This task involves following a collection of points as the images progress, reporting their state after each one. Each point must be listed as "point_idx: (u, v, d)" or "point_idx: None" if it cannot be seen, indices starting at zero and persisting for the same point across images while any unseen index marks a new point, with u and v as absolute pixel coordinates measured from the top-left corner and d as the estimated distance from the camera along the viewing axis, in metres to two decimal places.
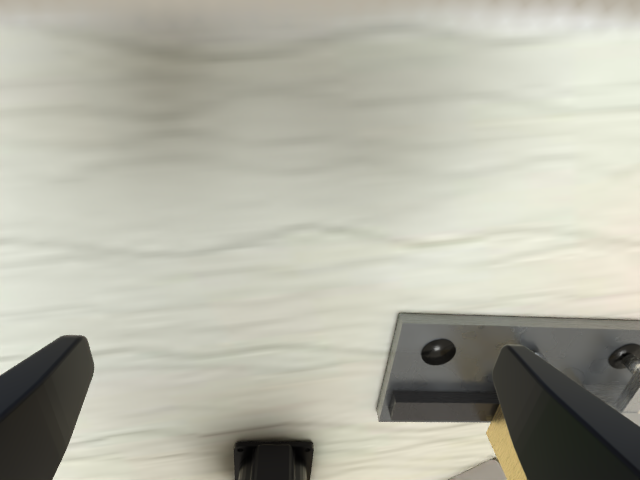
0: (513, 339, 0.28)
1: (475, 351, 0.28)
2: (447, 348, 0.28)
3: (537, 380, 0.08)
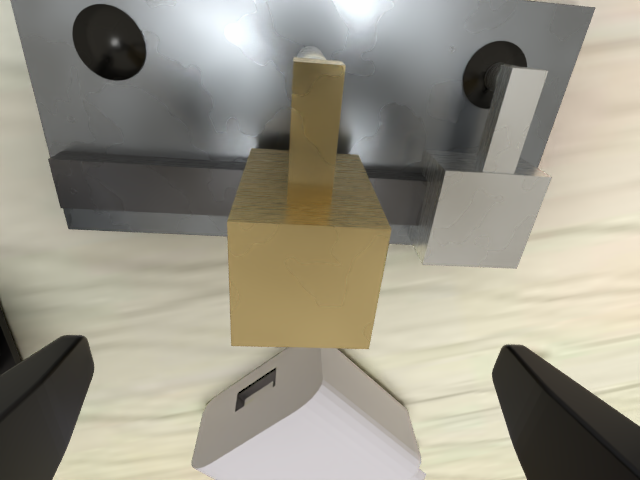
0: (255, 13, 0.14)
1: (187, 45, 0.14)
2: (125, 33, 0.14)
3: (537, 380, 0.08)
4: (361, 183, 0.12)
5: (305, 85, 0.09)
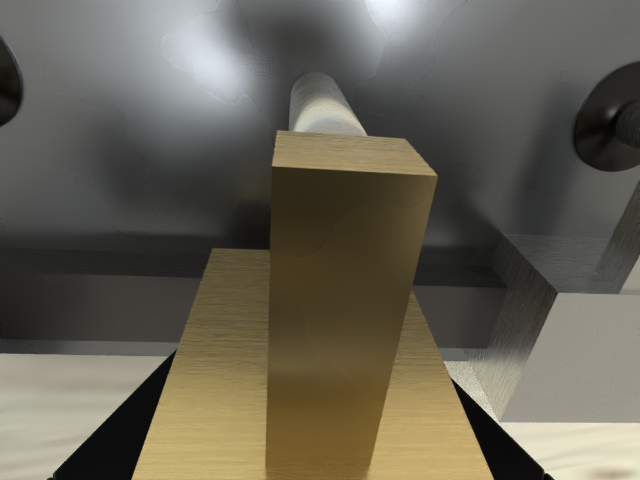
0: (215, 13, 0.07)
1: (95, 70, 0.08)
2: None
3: None
4: (420, 356, 0.06)
5: (310, 230, 0.03)
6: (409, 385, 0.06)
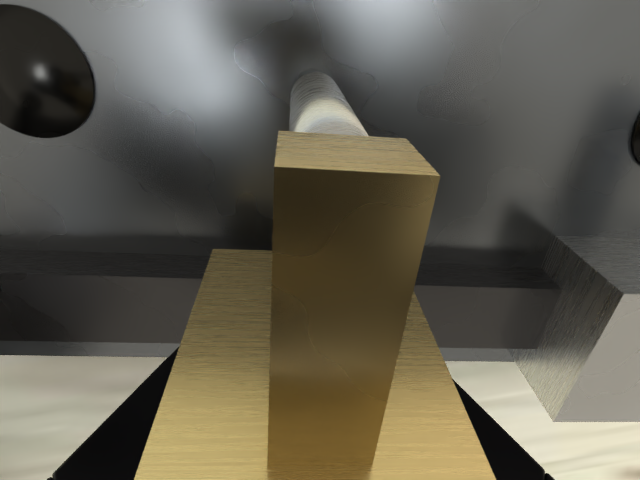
0: (290, 20, 0.08)
1: (168, 76, 0.08)
2: (55, 57, 0.08)
3: None
4: (421, 356, 0.06)
5: (313, 230, 0.03)
6: (410, 385, 0.06)
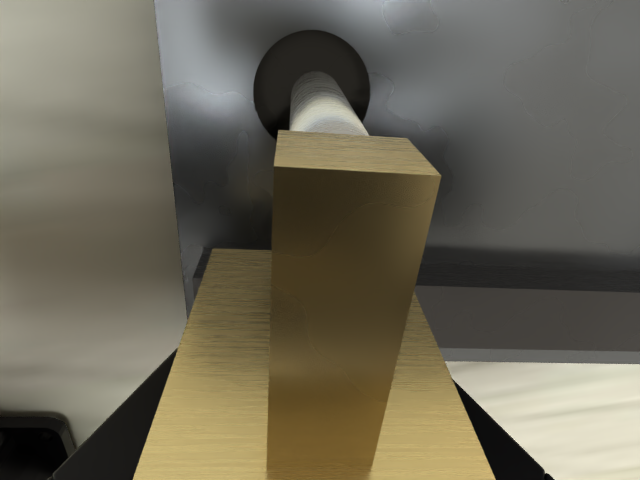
0: (565, 44, 0.08)
1: (437, 95, 0.08)
2: (340, 78, 0.08)
3: None
4: (421, 357, 0.06)
5: (312, 231, 0.03)
6: (410, 386, 0.06)
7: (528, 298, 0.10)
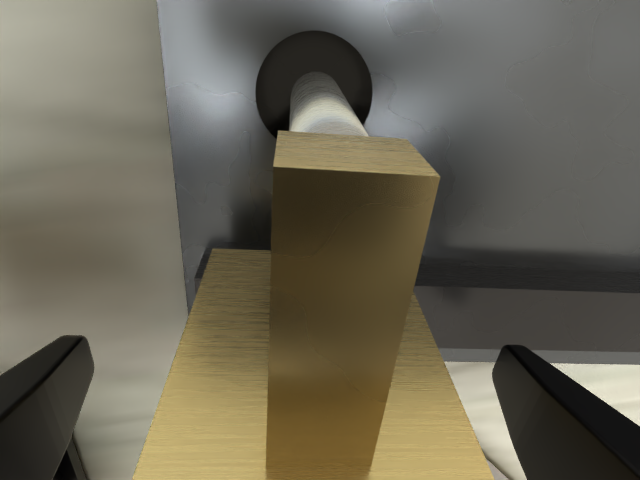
0: (566, 45, 0.08)
1: (439, 96, 0.08)
2: (342, 79, 0.08)
3: (537, 380, 0.08)
4: (420, 357, 0.06)
5: (312, 231, 0.03)
6: (410, 386, 0.06)
7: (529, 299, 0.10)
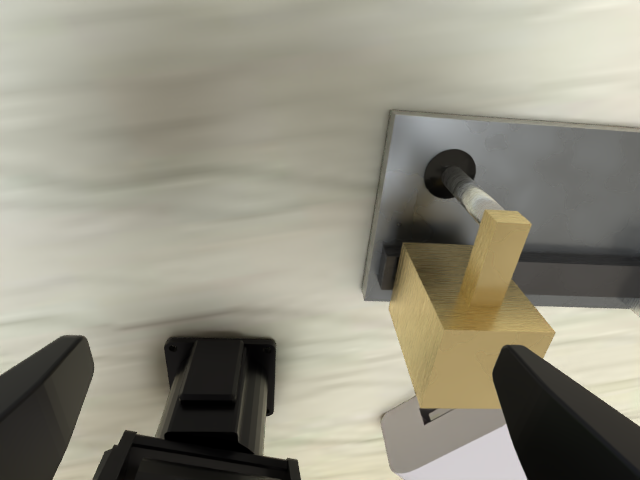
0: (561, 153, 0.18)
1: (504, 174, 0.19)
2: (462, 167, 0.19)
3: (537, 380, 0.08)
4: None
5: (501, 235, 0.13)
6: None
7: (544, 267, 0.20)
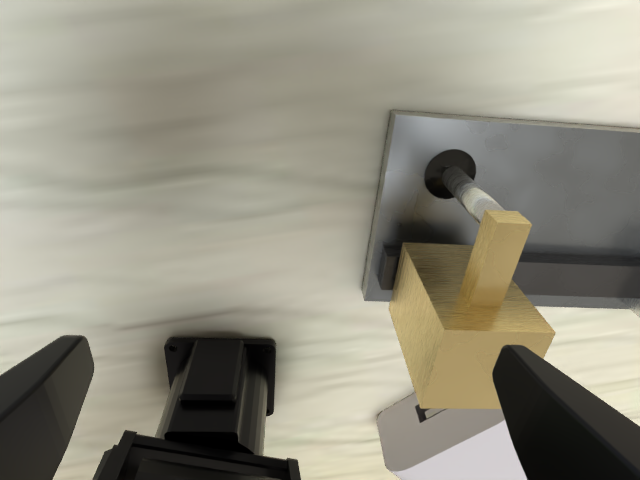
0: (562, 153, 0.18)
1: (504, 174, 0.19)
2: (463, 167, 0.19)
3: (537, 380, 0.08)
4: None
5: (501, 236, 0.13)
6: None
7: (544, 267, 0.20)
